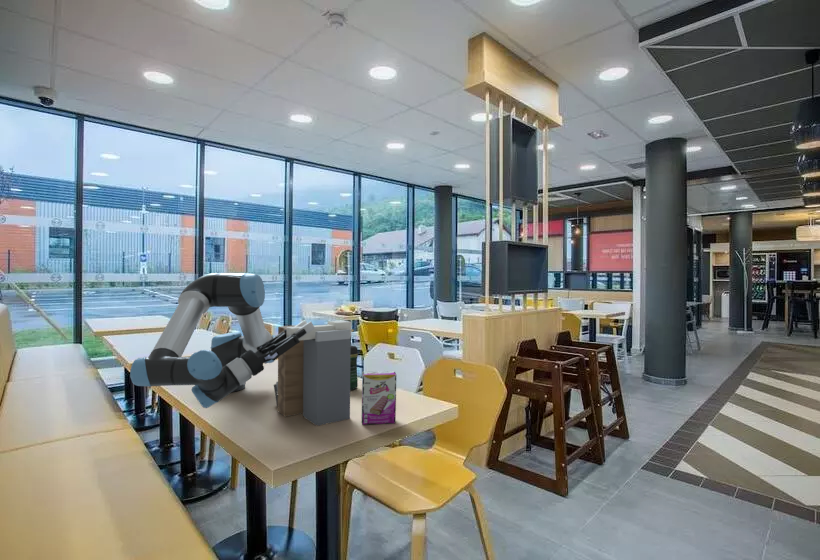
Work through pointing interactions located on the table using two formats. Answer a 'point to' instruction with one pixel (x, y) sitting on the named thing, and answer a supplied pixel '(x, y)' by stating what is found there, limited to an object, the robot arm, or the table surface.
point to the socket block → (327, 377)
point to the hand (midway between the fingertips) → (309, 324)
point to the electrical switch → (276, 391)
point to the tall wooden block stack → (290, 379)
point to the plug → (322, 328)
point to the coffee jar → (353, 367)
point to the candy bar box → (378, 397)
